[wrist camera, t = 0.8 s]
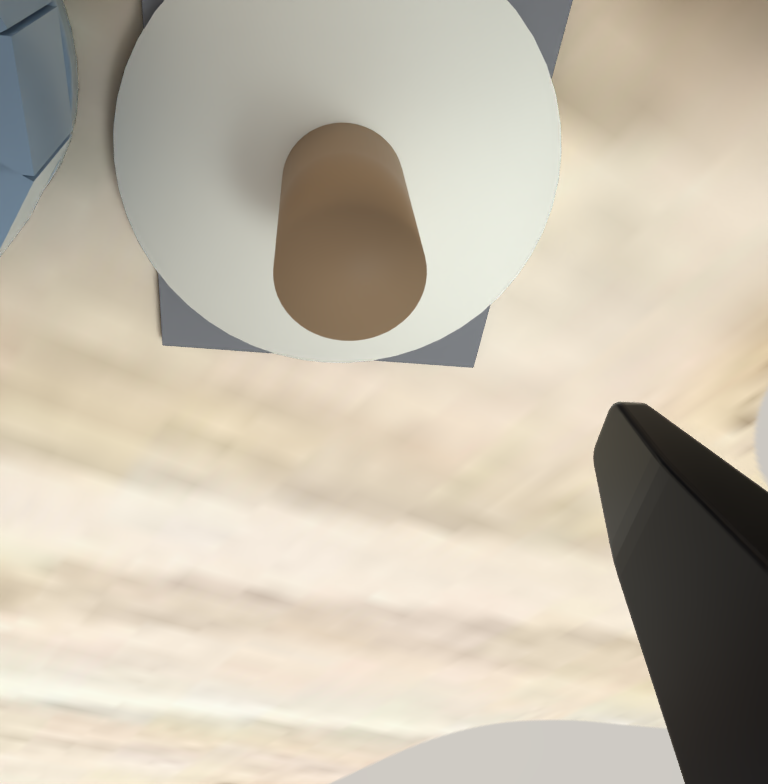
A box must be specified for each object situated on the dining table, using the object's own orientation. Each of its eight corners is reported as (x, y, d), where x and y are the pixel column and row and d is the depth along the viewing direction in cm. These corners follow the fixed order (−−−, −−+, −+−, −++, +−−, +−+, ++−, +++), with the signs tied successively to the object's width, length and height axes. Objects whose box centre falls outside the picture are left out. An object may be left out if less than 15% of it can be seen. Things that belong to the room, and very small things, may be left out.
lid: (616, -39, 16) (726, 6, 12) (497, 364, 23) (539, 485, 19) (95, -124, 15) (0, -108, 10) (135, 337, 22) (90, 464, 17)
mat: (582, -56, 16) (587, -54, 16) (471, 360, 24) (473, 367, 23) (137, -130, 15) (133, -130, 15) (164, 338, 22) (162, 345, 22)
